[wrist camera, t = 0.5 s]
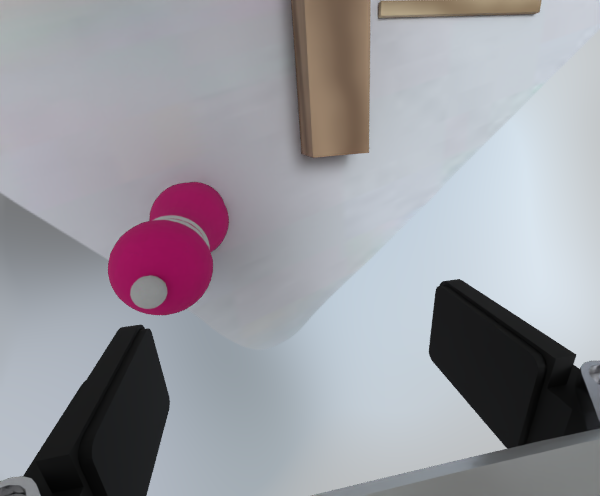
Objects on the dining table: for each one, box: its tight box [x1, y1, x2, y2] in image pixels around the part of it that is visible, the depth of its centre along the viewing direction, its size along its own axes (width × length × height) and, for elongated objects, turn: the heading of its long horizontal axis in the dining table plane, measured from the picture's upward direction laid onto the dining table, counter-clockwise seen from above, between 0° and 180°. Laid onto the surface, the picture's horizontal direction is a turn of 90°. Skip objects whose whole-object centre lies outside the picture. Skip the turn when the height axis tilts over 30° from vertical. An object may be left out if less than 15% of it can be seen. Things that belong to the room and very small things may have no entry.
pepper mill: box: [108, 182, 229, 315], centre depth 25 cm, size 7×7×20 cm
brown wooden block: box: [291, 0, 370, 158], centre depth 29 cm, size 6×16×6 cm, turn 4°
